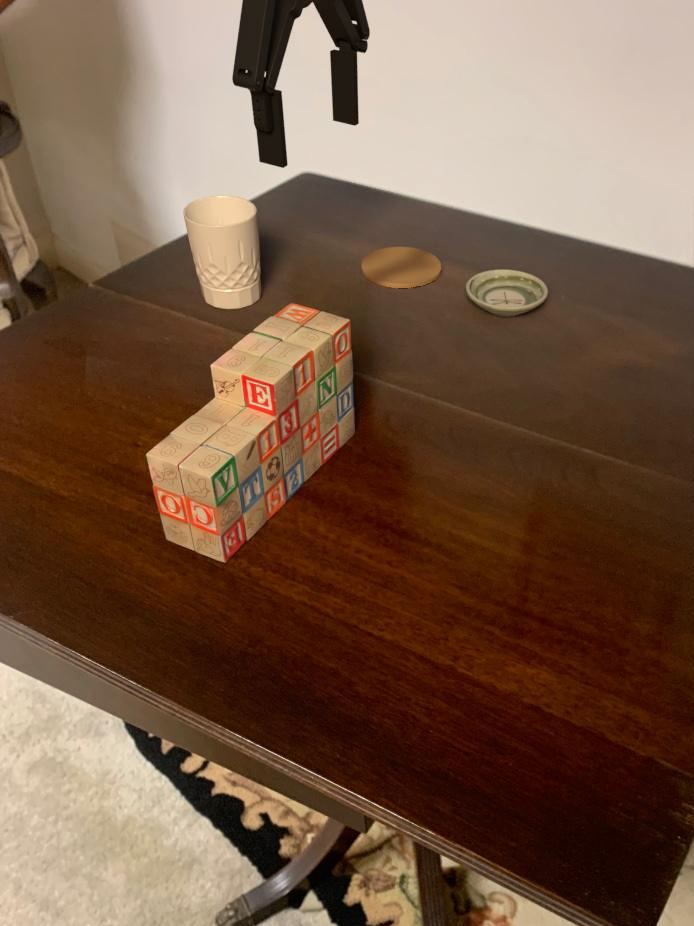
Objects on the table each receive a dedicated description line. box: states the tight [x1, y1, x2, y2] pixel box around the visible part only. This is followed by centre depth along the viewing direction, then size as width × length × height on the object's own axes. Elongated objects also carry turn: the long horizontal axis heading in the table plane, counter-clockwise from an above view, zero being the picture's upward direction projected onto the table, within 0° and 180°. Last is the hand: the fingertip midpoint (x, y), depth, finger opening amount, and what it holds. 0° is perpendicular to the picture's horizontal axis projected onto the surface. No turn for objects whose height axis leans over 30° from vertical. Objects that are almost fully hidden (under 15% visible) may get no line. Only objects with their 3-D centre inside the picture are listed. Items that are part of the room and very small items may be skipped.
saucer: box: [465, 268, 549, 318], centre depth 104 cm, size 10×10×2 cm
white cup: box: [182, 195, 262, 310], centre depth 100 cm, size 8×8×10 cm
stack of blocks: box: [145, 302, 356, 563], centre depth 76 cm, size 21×6×12 cm, turn 154°
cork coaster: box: [360, 246, 443, 289], centre depth 110 cm, size 10×10×1 cm
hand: (311, 142), depth 90 cm, fingers open, 13 cm apart
